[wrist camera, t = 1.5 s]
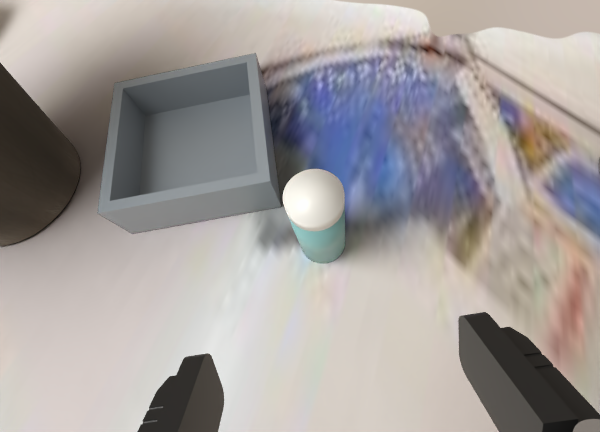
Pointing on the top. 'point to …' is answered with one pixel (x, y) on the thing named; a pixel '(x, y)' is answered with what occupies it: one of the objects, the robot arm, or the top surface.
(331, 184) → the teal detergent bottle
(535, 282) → the top surface
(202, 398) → the robot arm
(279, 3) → the top surface
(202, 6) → the top surface
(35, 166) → the waste basket
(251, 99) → the slate bin
